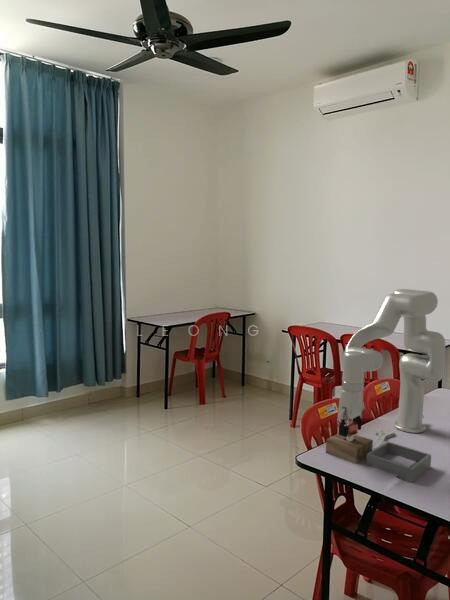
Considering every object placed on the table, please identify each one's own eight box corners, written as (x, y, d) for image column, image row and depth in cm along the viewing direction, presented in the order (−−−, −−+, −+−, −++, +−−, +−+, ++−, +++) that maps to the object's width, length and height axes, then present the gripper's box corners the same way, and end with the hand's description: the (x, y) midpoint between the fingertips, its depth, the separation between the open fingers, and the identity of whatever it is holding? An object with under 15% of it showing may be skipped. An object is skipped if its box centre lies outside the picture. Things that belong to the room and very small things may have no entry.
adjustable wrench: (377, 456, 176) (377, 451, 176) (360, 451, 179) (360, 447, 179) (394, 434, 197) (395, 430, 196) (379, 430, 200) (379, 426, 200)
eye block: (342, 445, 183) (343, 430, 182) (371, 455, 175) (372, 440, 174) (325, 455, 174) (326, 439, 174) (355, 466, 166) (356, 449, 165)
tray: (386, 452, 178) (387, 441, 177) (430, 467, 167) (431, 454, 166) (365, 466, 166) (366, 453, 166) (411, 482, 155) (412, 469, 155)
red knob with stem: (346, 448, 178) (347, 420, 177) (358, 453, 174) (360, 423, 173) (338, 452, 174) (340, 423, 173) (351, 457, 171) (353, 427, 169)
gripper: (355, 379, 180) (352, 423, 182) (330, 388, 168) (328, 435, 170) (373, 383, 175) (371, 428, 177) (350, 393, 163) (347, 442, 165)
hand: (350, 432), depth 173 cm, fingers open, 9 cm apart
